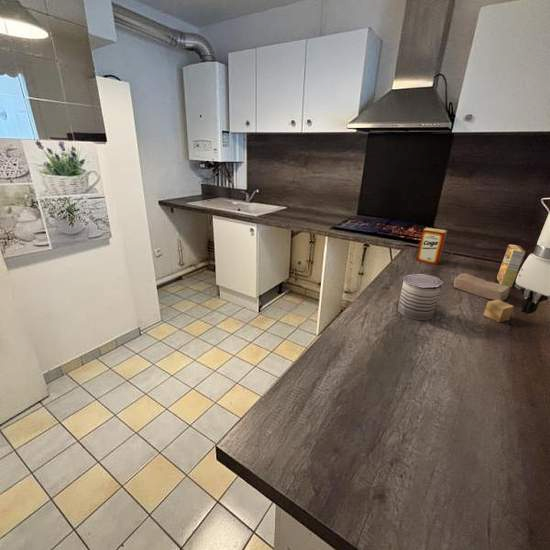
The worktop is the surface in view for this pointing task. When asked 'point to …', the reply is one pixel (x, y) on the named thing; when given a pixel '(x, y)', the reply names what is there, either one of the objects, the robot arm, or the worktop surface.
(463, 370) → the worktop surface
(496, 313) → the beech block
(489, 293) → the brick
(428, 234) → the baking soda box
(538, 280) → the robot arm
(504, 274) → the candy box
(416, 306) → the can
